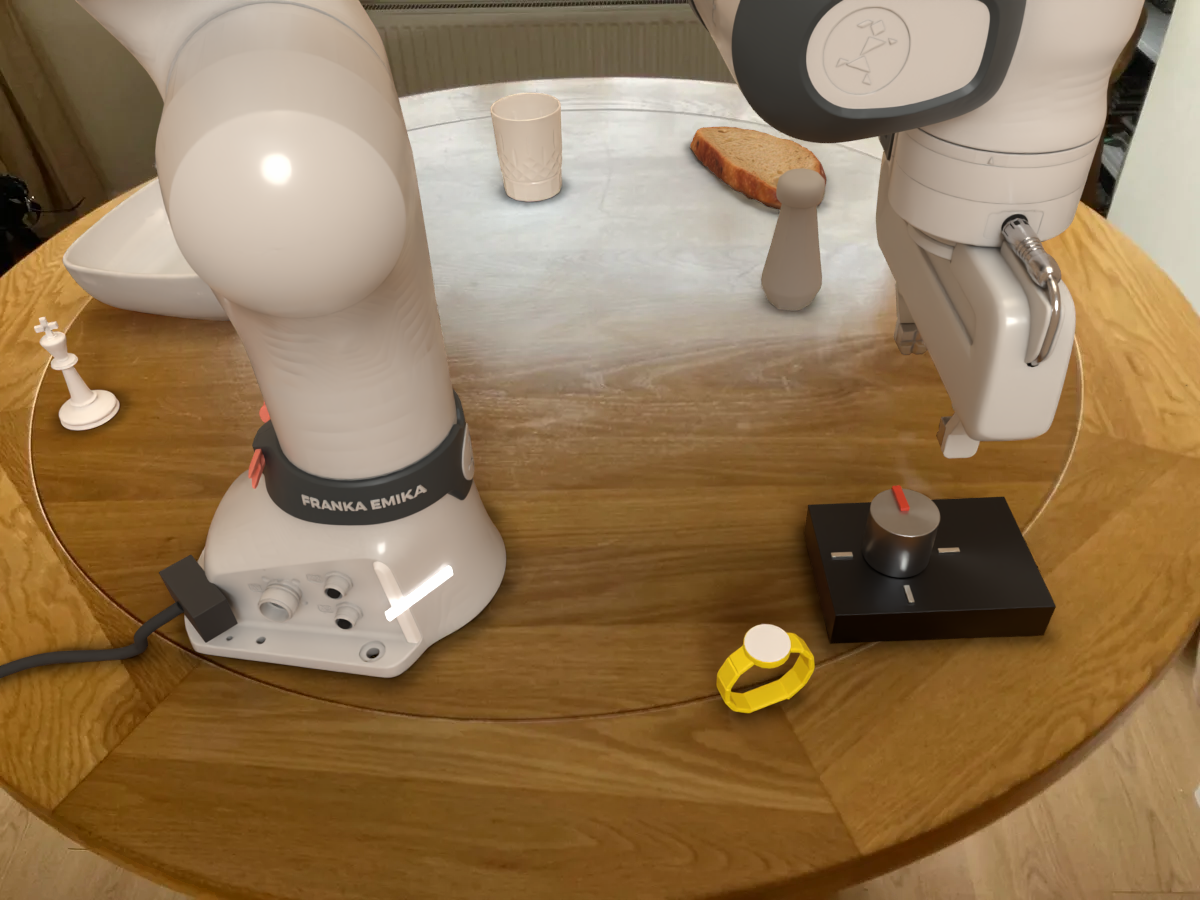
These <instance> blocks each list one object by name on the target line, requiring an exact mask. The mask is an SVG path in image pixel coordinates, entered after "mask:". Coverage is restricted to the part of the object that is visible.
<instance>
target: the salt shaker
mask: <svg viewBox="0 0 1200 900" xmlns="http://www.w3.org/2000/svg"><path fill="white" fill-rule="evenodd" d="M825 194H826V186H825V179H824V178H823V177H822V176H821V175H820V174H819V173H818V172H816V171H813V170H810V169H804V168H801V169H792V170H789V171H786V172H785V173H784V174H783V175H782V176H780V177H779V180H778V183H777V189H776V196H777V199H778V200H779V201H780V202H781V203H782V205H781V208H780V210H779V213H778V216H777V220H776V224H775V227H774V231H773V235H772V238H771V242H770V245H769V249H768V252H767V255H766V258H765V261H764V265H763V269H762V270H761V271H762V272H761V277H760V284H761V287H762V290H763V292H764V294H765V297H766V299H767V301H768V302H769V303H770V304H771V305H773V306H774V307H775V308H776V309H778V310H780V311H794V312H798V311H800V310H802V309H804V308H806V307H807V306H809V305H811V304H812V302H813V300H814V299H815V298H816V296H817V295H818V293H819V291H820V290H821V287H822V284H823V272H822V271H823V270H822V260H821V250H820V248H821V247H820V237H819V221H818V206H819V205H820V204H821V203H822V202H823V200H824V197H825ZM820 202H821V203H820ZM819 203H820V204H819ZM818 204H819V205H818ZM817 205H818V206H817Z"/></svg>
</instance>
